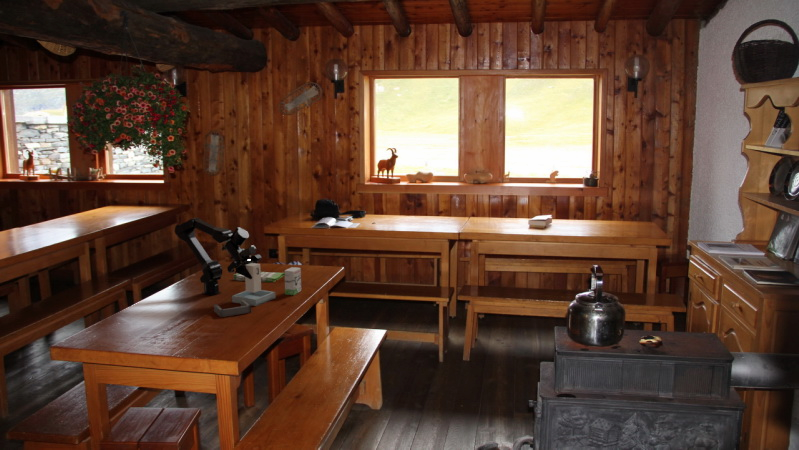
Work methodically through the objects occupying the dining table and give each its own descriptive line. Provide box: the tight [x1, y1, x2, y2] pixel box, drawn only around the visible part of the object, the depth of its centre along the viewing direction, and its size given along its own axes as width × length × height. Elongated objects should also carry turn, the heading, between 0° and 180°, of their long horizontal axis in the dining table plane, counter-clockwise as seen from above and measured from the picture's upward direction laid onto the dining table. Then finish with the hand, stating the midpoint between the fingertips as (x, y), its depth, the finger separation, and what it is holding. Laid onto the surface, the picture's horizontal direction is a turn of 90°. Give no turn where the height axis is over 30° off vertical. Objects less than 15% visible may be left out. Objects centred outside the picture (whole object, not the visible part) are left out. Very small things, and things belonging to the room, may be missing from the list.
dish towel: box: [232, 271, 285, 283], centre depth 351 cm, size 17×23×4 cm
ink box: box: [284, 266, 302, 296], centre depth 320 cm, size 9×5×12 cm, turn 163°
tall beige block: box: [244, 263, 262, 293], centre depth 307 cm, size 6×5×12 cm
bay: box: [213, 300, 252, 318], centre depth 291 cm, size 11×13×3 cm
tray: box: [231, 289, 276, 307], centre depth 309 cm, size 14×14×3 cm
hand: (255, 277), depth 307 cm, fingers closed on tall beige block, 5 cm apart
